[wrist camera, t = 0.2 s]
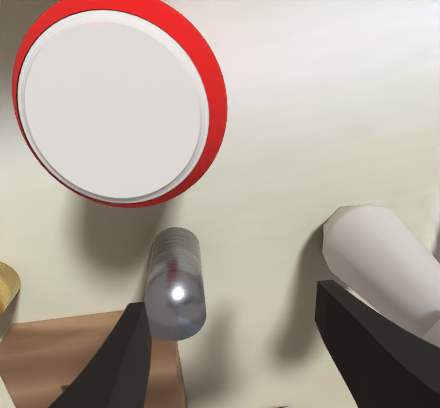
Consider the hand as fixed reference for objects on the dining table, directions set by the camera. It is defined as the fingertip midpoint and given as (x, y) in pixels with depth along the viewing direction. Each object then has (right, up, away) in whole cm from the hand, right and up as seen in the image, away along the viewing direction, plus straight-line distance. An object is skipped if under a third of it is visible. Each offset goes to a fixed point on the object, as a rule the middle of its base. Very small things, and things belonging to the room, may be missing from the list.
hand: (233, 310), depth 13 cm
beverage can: (-5, +11, +6) cm, 14 cm away
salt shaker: (+9, +3, +11) cm, 15 cm away
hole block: (-10, -10, +14) cm, 20 cm away
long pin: (-4, +1, +10) cm, 11 cm away
